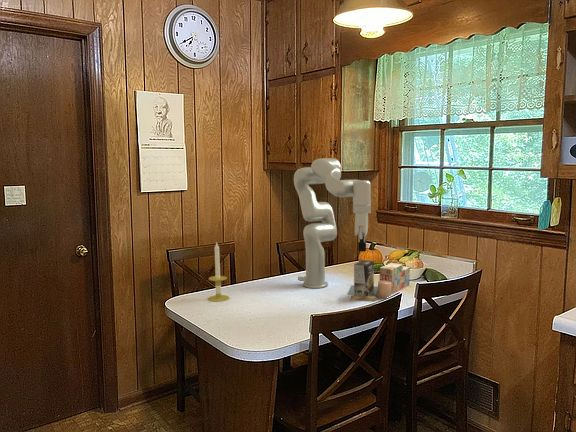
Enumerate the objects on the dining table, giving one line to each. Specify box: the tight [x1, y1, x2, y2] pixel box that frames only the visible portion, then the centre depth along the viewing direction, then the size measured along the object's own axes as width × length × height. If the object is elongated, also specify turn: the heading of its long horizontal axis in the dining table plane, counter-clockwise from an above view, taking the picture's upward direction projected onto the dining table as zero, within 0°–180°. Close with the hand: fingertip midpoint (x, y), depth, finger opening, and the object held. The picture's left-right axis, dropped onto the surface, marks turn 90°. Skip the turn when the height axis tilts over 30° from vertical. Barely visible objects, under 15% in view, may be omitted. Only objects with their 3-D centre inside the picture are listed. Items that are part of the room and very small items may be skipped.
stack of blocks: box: [379, 262, 411, 295], centre depth 234 cm, size 21×6×12 cm, turn 143°
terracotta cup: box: [376, 279, 392, 300], centre depth 221 cm, size 6×6×7 cm
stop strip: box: [350, 295, 376, 302], centre depth 218 cm, size 11×1×2 cm, turn 76°
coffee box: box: [353, 259, 375, 297], centre depth 222 cm, size 9×6×16 cm
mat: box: [347, 284, 378, 297], centre depth 233 cm, size 16×16×1 cm
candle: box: [207, 242, 230, 303], centre depth 223 cm, size 10×10×27 cm
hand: (362, 251), depth 209 cm, fingers closed
